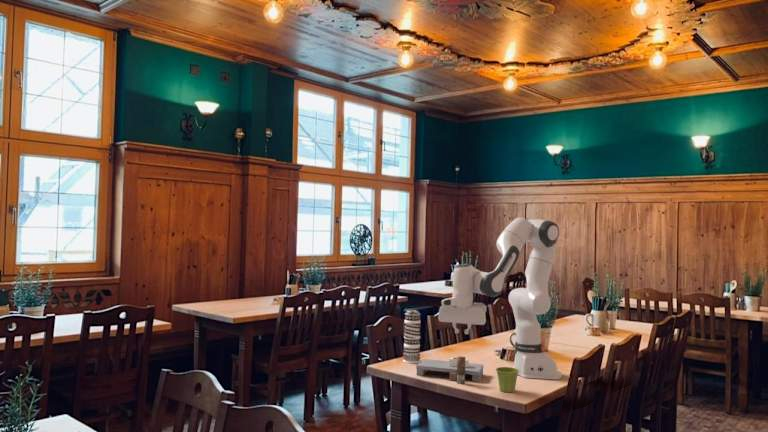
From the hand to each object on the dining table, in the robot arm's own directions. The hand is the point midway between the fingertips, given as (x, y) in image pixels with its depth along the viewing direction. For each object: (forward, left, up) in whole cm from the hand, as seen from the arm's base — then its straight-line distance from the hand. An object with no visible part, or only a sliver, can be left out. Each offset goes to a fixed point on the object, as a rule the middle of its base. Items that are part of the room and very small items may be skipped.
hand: (461, 333), depth 246 cm
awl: (0, 0, -21) cm, 21 cm away
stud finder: (+3, -12, -16) cm, 20 cm away
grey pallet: (+7, -12, -21) cm, 25 cm away
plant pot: (-20, +4, -21) cm, 30 cm away
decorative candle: (+30, -30, -21) cm, 47 cm away
